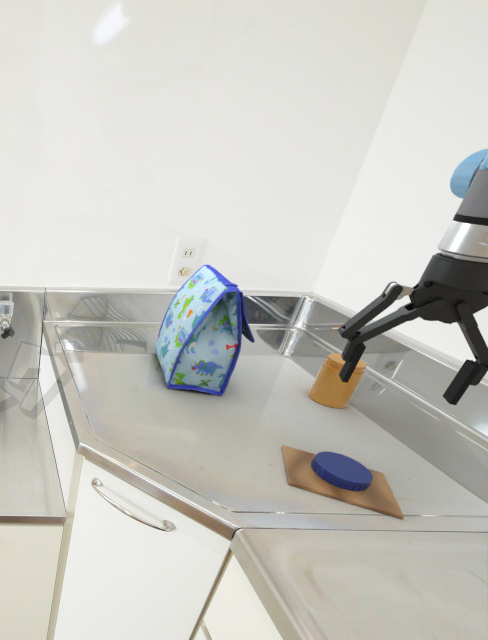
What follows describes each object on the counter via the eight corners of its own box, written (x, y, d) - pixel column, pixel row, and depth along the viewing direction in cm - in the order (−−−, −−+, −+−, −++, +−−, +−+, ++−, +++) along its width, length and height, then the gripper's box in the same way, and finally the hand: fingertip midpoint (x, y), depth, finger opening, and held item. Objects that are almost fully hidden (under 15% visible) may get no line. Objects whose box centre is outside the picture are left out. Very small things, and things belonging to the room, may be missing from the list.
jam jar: (343, 396, 103) (363, 357, 98) (350, 411, 97) (373, 371, 92) (305, 387, 106) (324, 349, 101) (310, 402, 100) (330, 362, 95)
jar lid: (300, 457, 80) (304, 449, 79) (345, 460, 80) (350, 452, 79) (330, 489, 73) (335, 481, 72) (380, 493, 73) (385, 485, 72)
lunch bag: (236, 399, 99) (279, 292, 87) (163, 390, 101) (195, 284, 89) (208, 358, 118) (240, 265, 106) (148, 351, 120) (171, 259, 108)
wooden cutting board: (381, 475, 78) (382, 472, 77) (402, 519, 68) (404, 516, 68) (281, 447, 84) (282, 444, 83) (288, 484, 74) (289, 482, 74)
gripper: (367, 249, 60) (306, 379, 70) (625, 277, 50) (511, 423, 60) (354, 240, 65) (300, 362, 76) (582, 264, 56) (486, 399, 66)
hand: (393, 389), depth 68 cm, fingers open, 13 cm apart
